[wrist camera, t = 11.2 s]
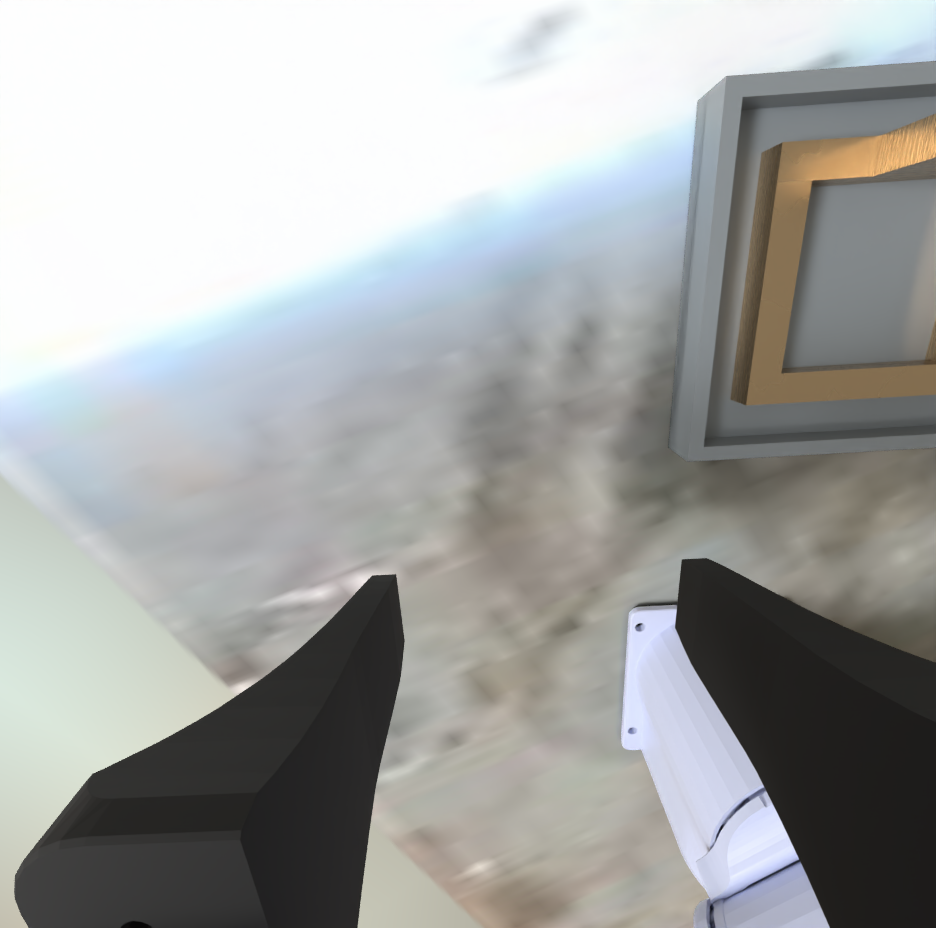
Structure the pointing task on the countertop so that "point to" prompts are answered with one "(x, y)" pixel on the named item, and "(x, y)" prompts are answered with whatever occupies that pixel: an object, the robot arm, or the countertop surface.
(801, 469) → the countertop surface
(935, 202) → the tray
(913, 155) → the wooden frame with post
